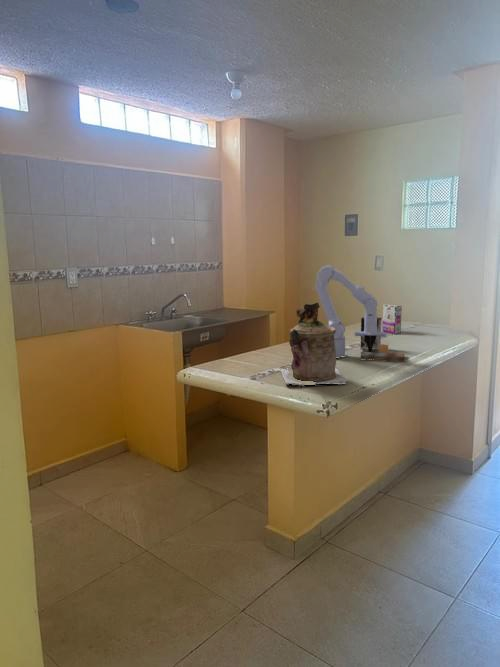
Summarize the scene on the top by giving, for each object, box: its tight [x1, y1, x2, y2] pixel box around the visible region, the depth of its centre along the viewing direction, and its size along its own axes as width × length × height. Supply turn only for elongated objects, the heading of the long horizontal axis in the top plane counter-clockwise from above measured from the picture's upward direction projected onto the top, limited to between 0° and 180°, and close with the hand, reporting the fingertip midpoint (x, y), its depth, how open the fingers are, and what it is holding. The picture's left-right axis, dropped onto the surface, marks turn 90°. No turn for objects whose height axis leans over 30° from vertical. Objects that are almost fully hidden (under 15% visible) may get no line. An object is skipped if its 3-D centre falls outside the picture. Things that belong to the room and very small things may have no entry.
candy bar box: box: [382, 304, 403, 335], centre depth 291 cm, size 11×5×16 cm, turn 25°
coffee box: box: [360, 316, 382, 349], centre depth 251 cm, size 9×6×16 cm
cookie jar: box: [280, 301, 348, 386], centre depth 200 cm, size 25×25×32 cm
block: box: [379, 343, 389, 355], centre depth 231 cm, size 4×4×4 cm
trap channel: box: [360, 348, 406, 363], centre depth 232 cm, size 20×11×4 cm, turn 73°
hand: (370, 351), depth 233 cm, fingers closed
